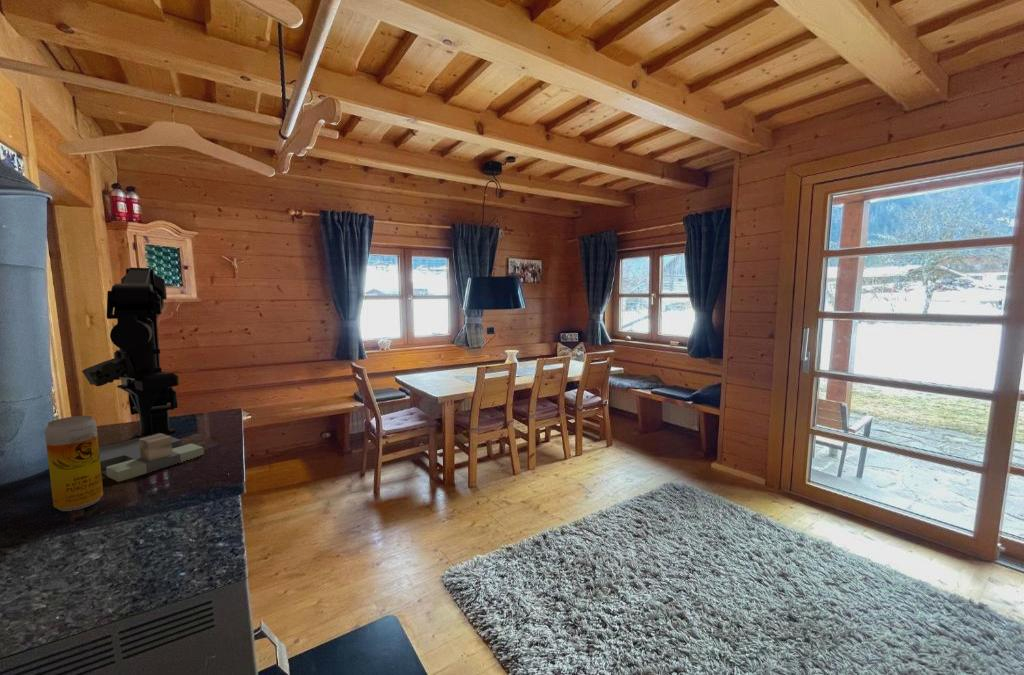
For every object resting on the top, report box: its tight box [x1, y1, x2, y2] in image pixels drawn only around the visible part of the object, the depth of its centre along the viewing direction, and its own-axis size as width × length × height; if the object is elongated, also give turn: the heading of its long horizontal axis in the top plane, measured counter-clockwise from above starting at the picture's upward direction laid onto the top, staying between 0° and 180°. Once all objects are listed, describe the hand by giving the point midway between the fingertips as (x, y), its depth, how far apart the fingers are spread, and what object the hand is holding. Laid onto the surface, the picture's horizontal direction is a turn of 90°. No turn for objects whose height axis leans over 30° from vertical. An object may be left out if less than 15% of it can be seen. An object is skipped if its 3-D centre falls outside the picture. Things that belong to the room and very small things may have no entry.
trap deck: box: [99, 433, 205, 483], centre depth 93 cm, size 20×15×2 cm
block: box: [139, 434, 173, 461], centre depth 90 cm, size 4×4×4 cm
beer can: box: [44, 415, 104, 512], centre depth 73 cm, size 6×6×15 cm
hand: (143, 416), depth 91 cm, fingers closed
